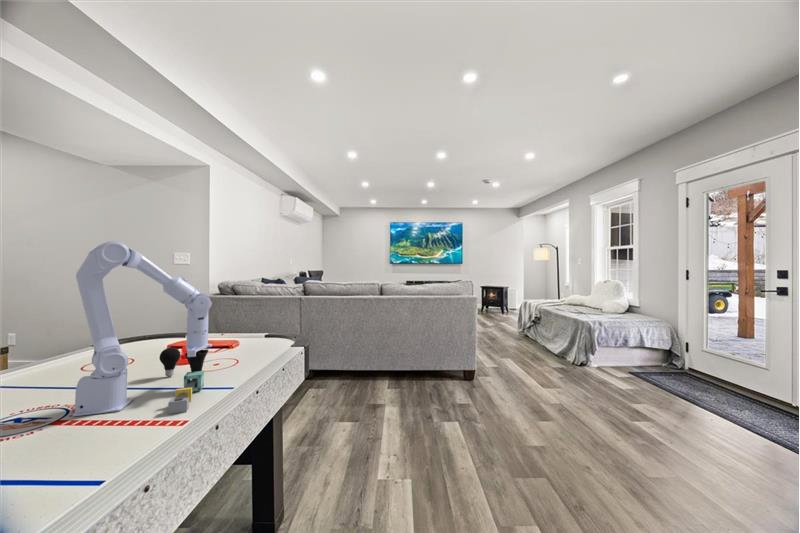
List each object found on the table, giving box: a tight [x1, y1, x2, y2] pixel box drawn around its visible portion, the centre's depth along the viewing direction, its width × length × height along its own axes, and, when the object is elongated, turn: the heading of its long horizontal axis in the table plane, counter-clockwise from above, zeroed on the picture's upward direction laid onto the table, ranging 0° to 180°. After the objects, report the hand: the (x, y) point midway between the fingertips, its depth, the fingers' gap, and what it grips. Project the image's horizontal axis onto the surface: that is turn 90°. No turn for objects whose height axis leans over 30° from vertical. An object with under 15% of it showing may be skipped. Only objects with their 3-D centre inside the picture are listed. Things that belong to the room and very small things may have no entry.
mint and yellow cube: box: [183, 370, 205, 392], centre depth 95 cm, size 4×4×5 cm
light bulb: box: [159, 347, 181, 378], centre depth 108 cm, size 6×6×10 cm
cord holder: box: [167, 378, 198, 415], centre depth 90 cm, size 21×4×4 cm, turn 21°
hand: (196, 374), depth 98 cm, fingers closed
